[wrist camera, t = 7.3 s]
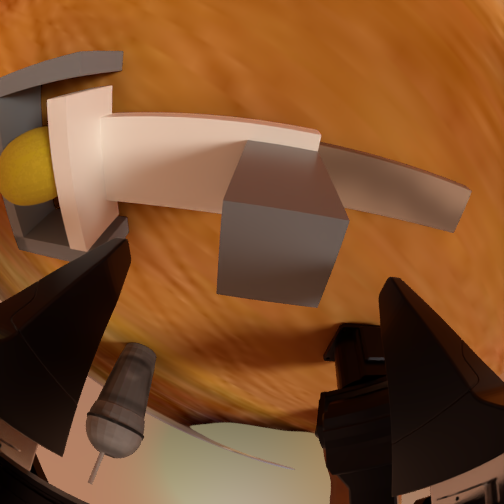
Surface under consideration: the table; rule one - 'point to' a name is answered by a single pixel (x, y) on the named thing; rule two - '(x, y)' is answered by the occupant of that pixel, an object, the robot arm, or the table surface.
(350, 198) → the rail
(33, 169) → the lemon
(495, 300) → the table surface
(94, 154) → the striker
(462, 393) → the robot arm
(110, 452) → the beverage cup
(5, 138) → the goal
